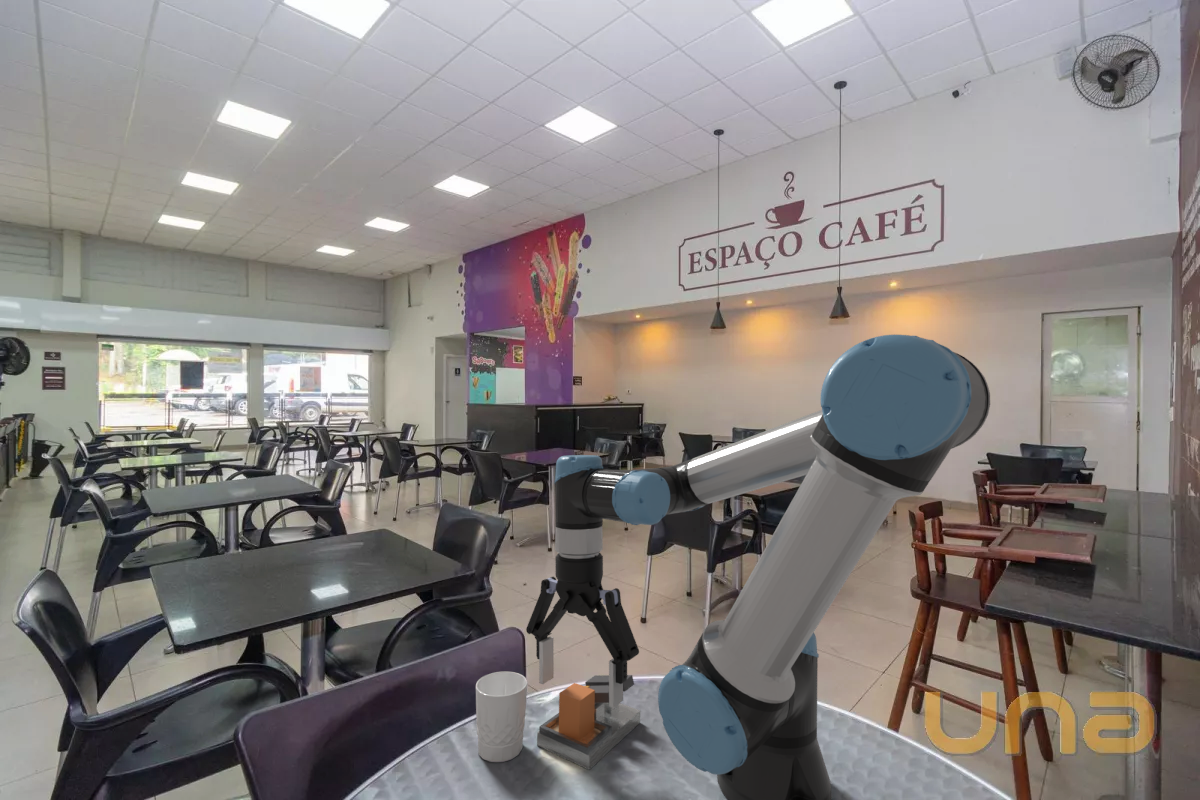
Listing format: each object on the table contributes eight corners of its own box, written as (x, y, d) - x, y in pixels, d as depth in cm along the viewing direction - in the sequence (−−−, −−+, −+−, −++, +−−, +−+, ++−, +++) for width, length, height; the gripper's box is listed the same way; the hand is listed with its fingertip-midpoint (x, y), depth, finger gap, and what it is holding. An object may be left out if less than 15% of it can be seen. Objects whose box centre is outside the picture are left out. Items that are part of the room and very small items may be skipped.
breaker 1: (621, 698, 87) (618, 683, 87) (610, 707, 84) (606, 691, 85) (583, 698, 91) (580, 684, 92) (571, 707, 88) (568, 692, 89)
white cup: (515, 769, 77) (516, 699, 78) (465, 761, 79) (466, 692, 79) (532, 737, 85) (534, 674, 85) (486, 731, 87) (488, 668, 87)
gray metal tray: (640, 722, 90) (640, 697, 90) (589, 769, 77) (589, 740, 78) (591, 704, 95) (592, 680, 96) (537, 745, 83) (537, 717, 83)
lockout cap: (579, 741, 81) (580, 700, 81) (558, 732, 83) (559, 693, 83) (594, 728, 84) (594, 690, 84) (573, 720, 86) (574, 682, 87)
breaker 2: (635, 687, 91) (632, 674, 91) (625, 695, 88) (622, 682, 88) (598, 687, 95) (595, 675, 95) (587, 695, 92) (584, 682, 92)
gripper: (660, 558, 80) (662, 703, 79) (535, 540, 94) (535, 663, 93) (634, 568, 74) (636, 726, 73) (505, 548, 88) (504, 680, 87)
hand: (579, 691), depth 83 cm, fingers open, 13 cm apart
